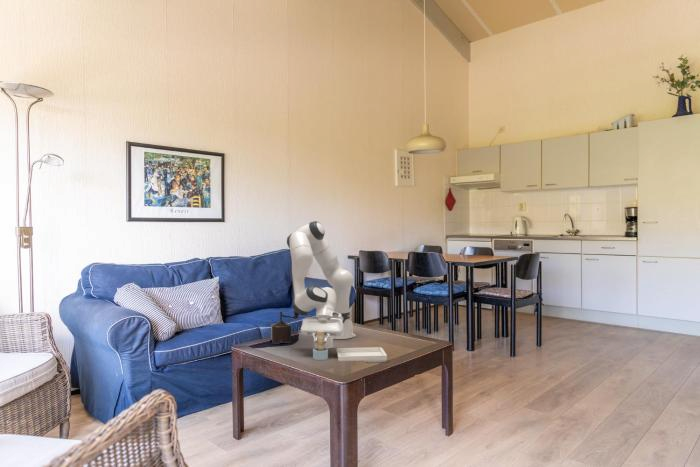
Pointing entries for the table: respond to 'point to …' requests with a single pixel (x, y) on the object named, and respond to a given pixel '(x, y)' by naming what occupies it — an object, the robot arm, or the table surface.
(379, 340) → the table surface
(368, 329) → the table surface
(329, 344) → the medicine bottle
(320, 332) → the dowel
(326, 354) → the cup
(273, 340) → the brown coffee grinder
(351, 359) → the tray
